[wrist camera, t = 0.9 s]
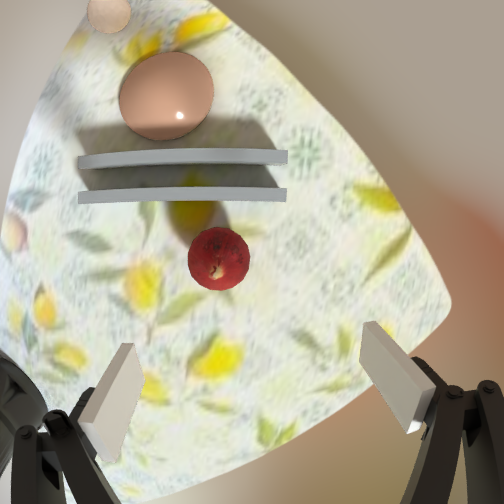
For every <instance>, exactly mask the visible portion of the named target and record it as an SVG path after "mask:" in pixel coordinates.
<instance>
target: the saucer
mask: <svg viewBox="0 0 504 504" xmlns="http://www.w3.org/2000/svg"><path fill="white" fill-rule="evenodd" d="M213 97H214V87H213V81H212V77H211V74H210V73H209V71H208V69H207V68H206V66H205V65H204V64H203V63H202V62H201V61H199V60H198V59H197V58H195V57H193V56H191V55H188V54H185V53H181V52H166V53H161V54H157V55H154V56H152V57H150V58H148V59H146V60H144V61H143V62H141V63H140V64H139V65H138V66H136V67H135V68H134V69H133V70H132V71H131V73H130V74H129V75H128V77H127V78H126V80H125V82H124V84H123V86H122V90H121V93H120V110H121V114H122V117H123V119H124V121H125V122H126V124H127V125H128V126H129V127H130V128H131V129H132V130H133V131H134V132H136V133H137V134H139V135H141V136H143V137H146V138H149V139H152V140H171V139H176V138H179V137H181V136H184V135H186V134H188V133H189V132H191V131H192V130H194V129H195V128H196V127H197V126H198V125H199V124H200V123H201V122H202V121H203V120H204V119H205V117H206V116H207V114H208V112H209V111H210V108H211V106H212V102H213Z"/></svg>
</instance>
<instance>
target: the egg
mask: <svg viewBox="0 0 504 504" xmlns="http://www.w3.org/2000/svg"><path fill="white" fill-rule="evenodd" d="M87 15H88V19H89V22H90V24H91V25H92V26H93V27H94V28H95V29H96V30H98V31H100V32H102V33H115V32H118V31H120V30H122V29H123V28H124V27H125V26H126V25H127V24H128V22H129V20H130V17H131V8H130V5H129V3H128V1H127V0H90V1H89V4H88V8H87Z"/></svg>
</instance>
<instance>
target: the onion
mask: <svg viewBox="0 0 504 504" xmlns="http://www.w3.org/2000/svg"><path fill="white" fill-rule="evenodd" d="M249 262H250V254H249V249H248V245H247V244H246V243H245V241H244V240H243V239H242V237H241V236H240V235H238V234H237V233H235V232H234V231H232V230H230V229H229V228H220V227H214V228H211V229H208V230H205V231H202V232H201V233H200V234H199V235H198V236H197V237H196V238H195V239H194V240H193V242H192V245H191V247H190V249H189V251H188V267H189V270H190V273H191V276H192V277H193V278H194V279H195V280H196V281H197V282H198V283H199V285H201V286H203V287H206V288H208V289H210V290H220V291H222V290H226V289H229V288H233V287H234V286H236V285H237V284H238V283H240V282H241V281H242V280H243V279H244V277H245V275H246V273H247V272H248V270H249Z"/></svg>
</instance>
